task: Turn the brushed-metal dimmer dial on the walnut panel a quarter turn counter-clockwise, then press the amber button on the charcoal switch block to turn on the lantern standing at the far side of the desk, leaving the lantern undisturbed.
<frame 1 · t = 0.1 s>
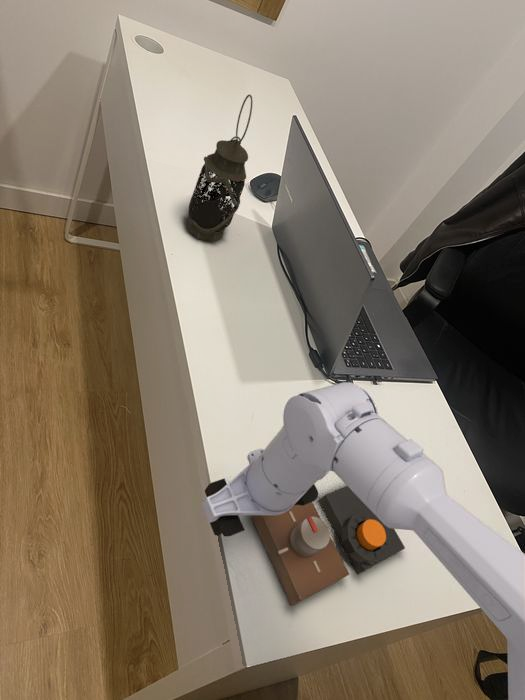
hand: (243, 514, 58), 8 cm above the table, tool pointing down, fingers open, 7 cm apart
dimmer panel: (294, 548, 67), on the table
lantern: (204, 230, 100), on the table
dial: (310, 536, 63), point 5 cm above the table, hinge at 0.0°
switch button: (371, 534, 67), point 5 cm above the table, slide at 0.2 cm
switch block: (357, 526, 72), on the table
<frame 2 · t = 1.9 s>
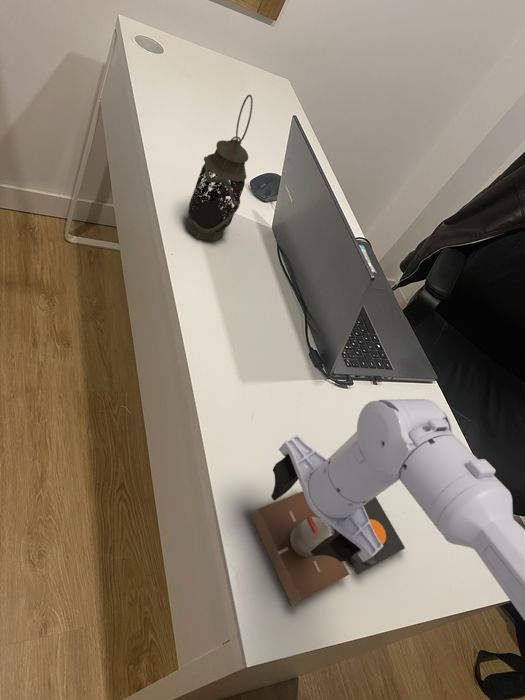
hand: (297, 521, 59), 9 cm above the table, tool pointing down, fingers open, 7 cm apart
nothing on the table moved.
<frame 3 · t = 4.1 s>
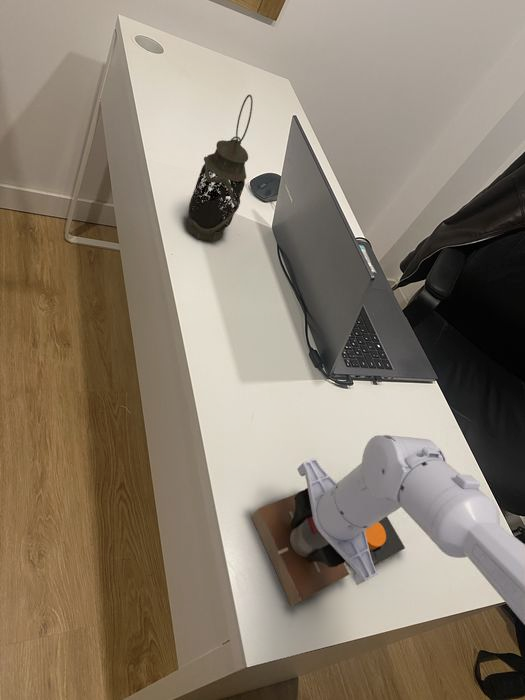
hand: (305, 540, 64), 3 cm above the table, tool pointing down, fingers closed on dial, 4 cm apart
dial: (310, 536, 63), point 5 cm above the table, hinge at -0.1°, touching gripper
everything else where it was.
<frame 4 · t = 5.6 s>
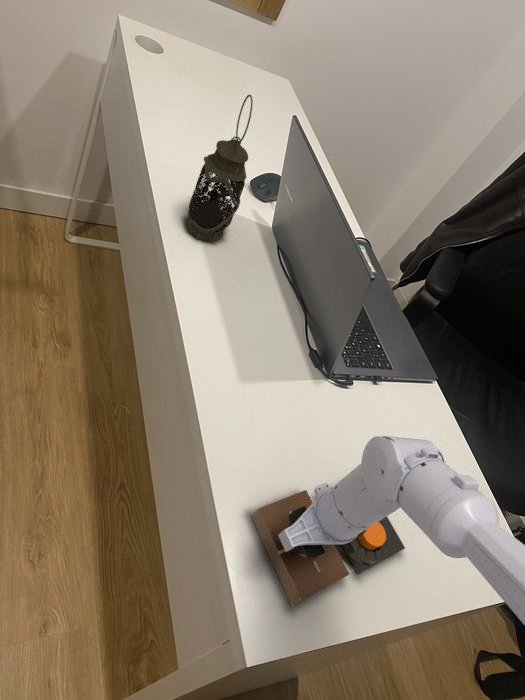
hand: (305, 539, 64), 3 cm above the table, tool pointing down, fingers closed on dial, 4 cm apart
dial: (310, 536, 63), point 5 cm above the table, hinge at 90.1°, touching gripper
everything else where it was.
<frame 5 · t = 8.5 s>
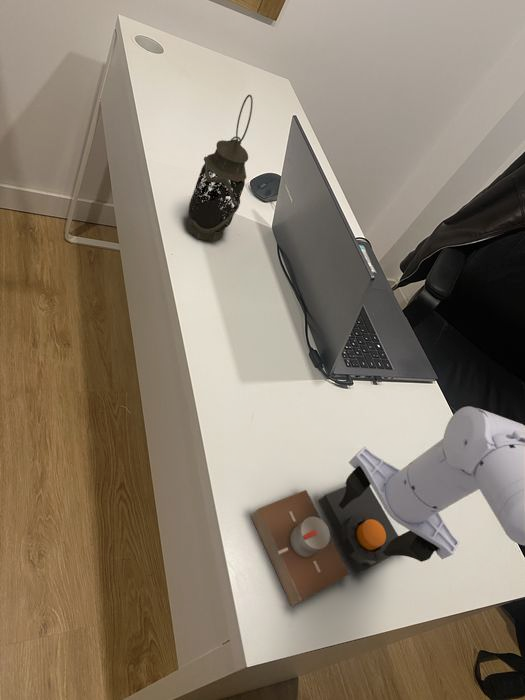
hand: (365, 525, 63), 9 cm above the table, tool pointing down, fingers open, 7 cm apart
dial: (310, 536, 63), point 5 cm above the table, hinge at 90.4°
everything else where it was.
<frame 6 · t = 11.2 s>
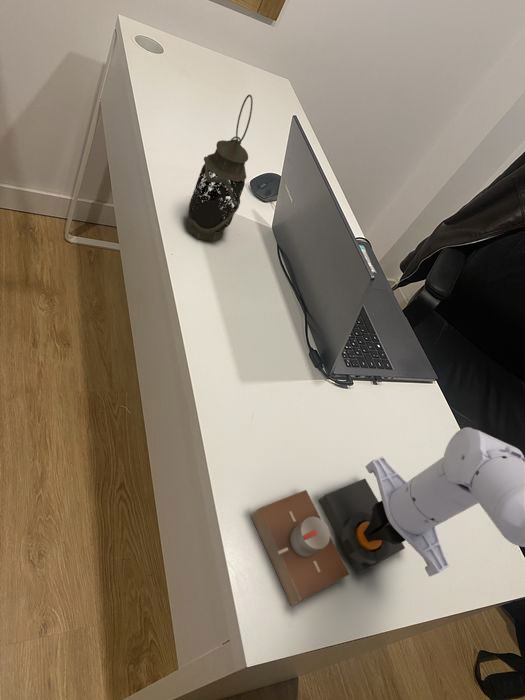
hand: (370, 534, 67), 4 cm above the table, tool pointing down, fingers closed, pressing on switch button
switch button: (367, 536, 67), point 4 cm above the table, slide at -0.8 cm, touching gripper
everything else where it was.
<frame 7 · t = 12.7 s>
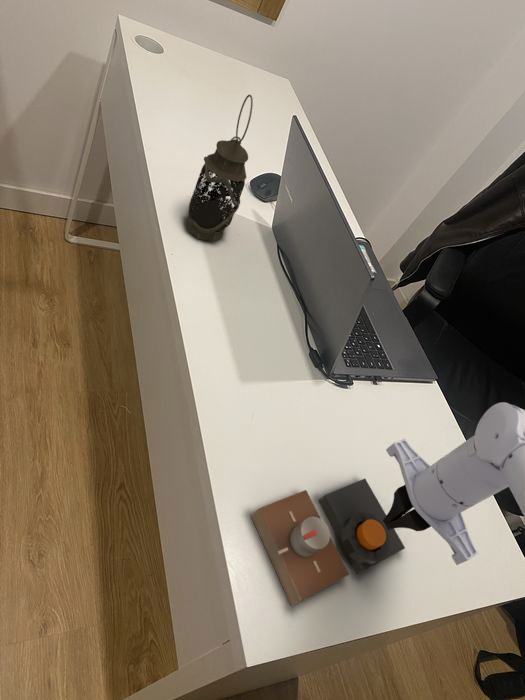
hand: (390, 522, 63), 9 cm above the table, tool pointing down, fingers closed
switch button: (371, 534, 67), point 5 cm above the table, slide at 0.1 cm
everything else where it was.
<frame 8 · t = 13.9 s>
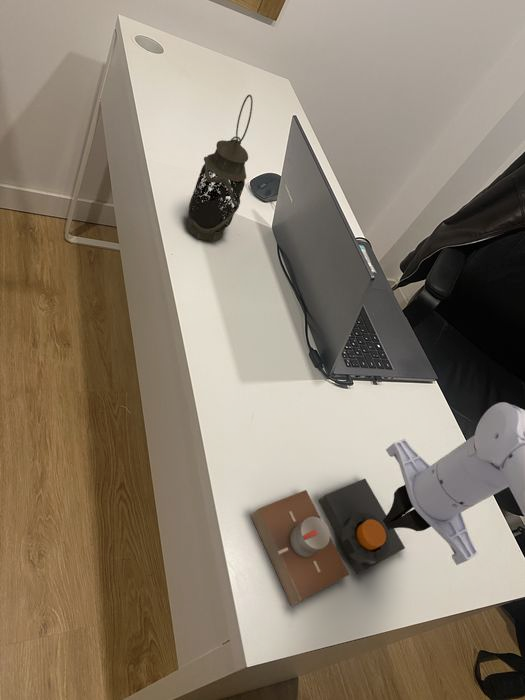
hand: (390, 522, 63), 9 cm above the table, tool pointing down, fingers closed
nothing on the table moved.
at the end: dial at +90° (first picture: +0°); switch button pushed in 1.2 cm at the most during the clip, back to where it started at the end; lantern moved 0.2 cm from its start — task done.
